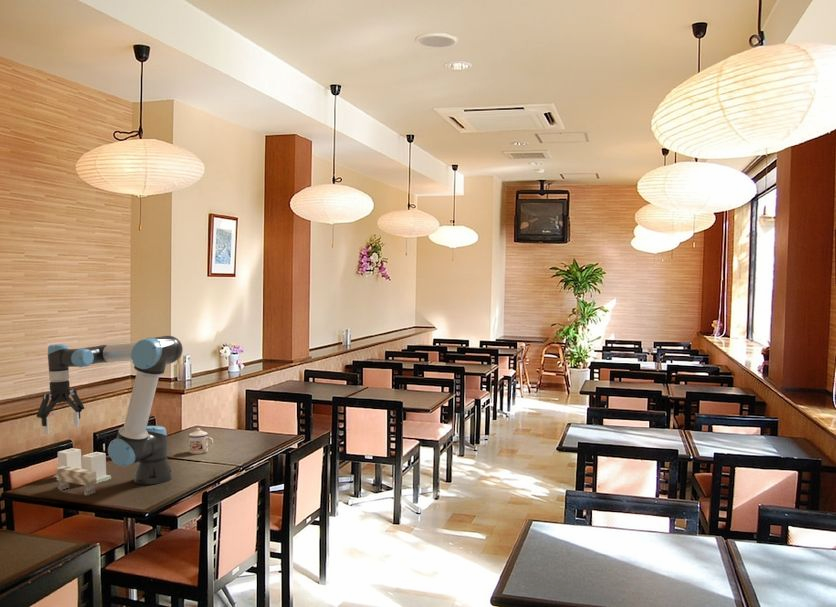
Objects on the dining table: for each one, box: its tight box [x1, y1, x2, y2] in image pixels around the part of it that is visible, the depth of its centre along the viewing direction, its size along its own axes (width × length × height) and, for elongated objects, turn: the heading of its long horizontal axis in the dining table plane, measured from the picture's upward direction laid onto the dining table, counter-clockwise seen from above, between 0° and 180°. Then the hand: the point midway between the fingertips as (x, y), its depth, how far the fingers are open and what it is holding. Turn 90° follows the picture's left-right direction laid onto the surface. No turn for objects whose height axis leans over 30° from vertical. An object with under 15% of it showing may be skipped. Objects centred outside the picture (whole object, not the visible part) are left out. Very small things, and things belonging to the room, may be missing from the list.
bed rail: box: [55, 466, 98, 496], centre depth 283 cm, size 20×4×9 cm, turn 62°
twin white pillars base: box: [53, 447, 112, 484], centre depth 301 cm, size 24×10×12 cm, turn 62°
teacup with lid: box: [188, 427, 214, 455], centre depth 344 cm, size 12×9×12 cm
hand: (62, 430), depth 295 cm, fingers open, 13 cm apart
